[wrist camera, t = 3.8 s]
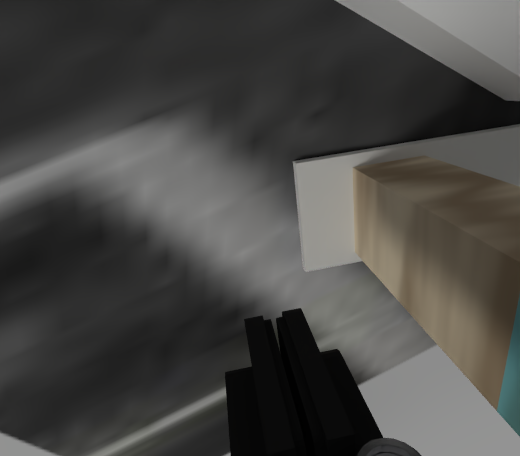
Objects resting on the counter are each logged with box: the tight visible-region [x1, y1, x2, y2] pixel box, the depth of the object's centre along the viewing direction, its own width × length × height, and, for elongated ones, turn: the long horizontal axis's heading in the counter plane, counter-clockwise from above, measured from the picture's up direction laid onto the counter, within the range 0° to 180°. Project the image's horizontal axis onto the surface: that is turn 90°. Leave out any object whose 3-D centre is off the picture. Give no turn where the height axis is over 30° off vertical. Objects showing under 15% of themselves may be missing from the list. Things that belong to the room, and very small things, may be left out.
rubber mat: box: [293, 124, 520, 272], centre depth 20 cm, size 19×6×1 cm, turn 97°
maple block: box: [353, 155, 520, 436], centre depth 14 cm, size 4×5×12 cm
